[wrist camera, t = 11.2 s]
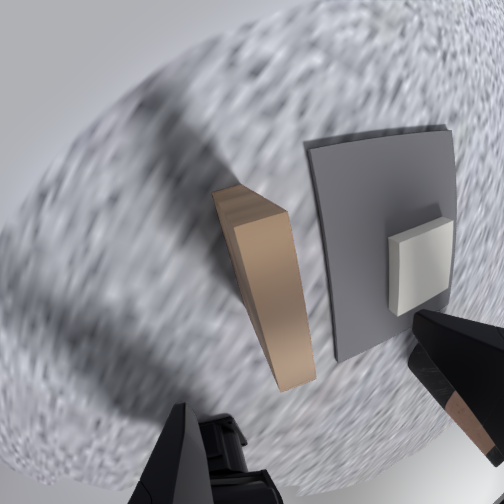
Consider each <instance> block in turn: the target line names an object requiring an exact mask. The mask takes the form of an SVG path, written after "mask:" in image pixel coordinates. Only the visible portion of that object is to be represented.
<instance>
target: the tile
mask: <svg viewBox="0 0 504 504" xmlns="http://www.w3.org/2000/svg"><path fill="white" fill-rule="evenodd" d="M388 242H389V308H388V309H389V310H390V311H391V312H392V313H394V314H395V315H396V316H397V317H398V316H400V315H402V314H404V313H406V312H407V311H409V310H411V309H413V308H415V307H416V306H418V305H420V304H422V303H424V302H425V301H427V300H429V299H430V298H432V297H434V296H436V295H437V294H439V293H441V292H442V291H444V290H446V289H447V288H448V285H449V277H450V268H451V257H452V243H453V220H451V219H448V218H445V217H440V218H438V219H435V220H432V221H430V222H427V223H425V224H422V225H420V226H417V227H415V228H412V229H409V230H407V231H404V232H401V233H399V234H396V235H394V236H391V237H388Z"/></svg>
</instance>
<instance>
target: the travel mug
mask: <svg viewBox="0 0 504 504" xmlns="http://www.w3.org/2000/svg"><path fill="white" fill-rule="evenodd" d="M408 364H409V368H410V370H411V371H412V372H413V374H414V375H415V376H416V377H417V378H418V379H419V381H420V382H421V383H422V384H423V385H424V386H425V388H426V389H427V390H428V391H429V392H430V393H431V395H432V396H433V397H434V398H435V399H436V401H437V402H438V403H439V404H440V405H441V407H442V408H443V409H444V410H445V411H446V412H447V414H448V415H449V416H450V417H451V418H452V419H453V420H454V421H455V422H456V423H457V425H458V426H459V427H460V428H461V429H462V430H463V431H464V432H465V433H466V435H467V436H468V437H469V438H470V439H471V440H472V441H473V442H474V444H475V445H476V446H477V447H478V448H479V449H480V450H481V452H482V453H483V454H484V455H486V457H487V458H488V459H489V461H490V462H491V463H492V464H493V465H494V466H495V467H498V466H499V465H500V464H501V463H502V462H503V461H504V457H503V456H502V454H501V453H500V451H499V450H498V448H497V447H496V445H495V444H494V442H493V441H492V439H491V438H490V437H489V435H488V434H487V432H486V431H485V429H484V428H483V427H482V425H481V424H480V422H479V421H478V420H477V418H476V417H475V415H474V414H473V413H472V411H471V410H470V409H469V407H468V406H467V405H466V403H465V402H464V401H463V399H462V398H461V397H460V396H459V394H458V393H457V392H456V390H455V389H454V388H453V387H452V385H451V384H450V383H449V382H448V380H447V379H446V378H445V377H444V375H443V374H442V373H441V372H440V370H439V369H438V368H437V367H436V365H435V364H434V363H433V362H432V360H431V359H430V358H429V356H428V355H427V353H426V352H425V350H424V349H423V347H422V346H421V344H420V343H418V344H417V346H416V347H415V349H414V350H413V352H412V354H411V356H410V359H409V363H408Z"/></svg>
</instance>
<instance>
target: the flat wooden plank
mask: <svg viewBox="0 0 504 504" xmlns="http://www.w3.org/2000/svg"><path fill="white" fill-rule="evenodd" d="M212 195H213V199H214V203H215V206H216V210H217V213H218V217H219V220H220V224H221V227H222V231H223V234H224V237H225V241H226V244H227V248H228V251H229V254H230V258H231V261H232V265H233V268H234V271H235V275H236V278H237V281H238V285H239V288H240V291H241V295H242V298H243V301H244V304H245V308H246V310H247V313H248V315H249V318H250V320H251V322H252V325H253V327H254V330H255V332H256V335H257V337H258V340H259V342H260V345H261V347H262V349H263V352H264V354H265V357H266V359H267V362H268V364H269V366H270V369H271V371H272V373H273V376H274V378H275V381H276V383H277V385H278V388H279V390H280V392H284V391H287V390H289V389H292V388H295V387H297V386H300V385H303V384H305V383H308V382H310V381H313V380H315V379H316V371H315V364H314V357H313V351H312V344H311V337H310V331H309V325H308V319H307V312H306V306H305V301H304V295H303V289H302V283H301V278H300V272H299V267H298V261H297V256H296V251H295V246H294V240H293V235H292V230H291V225H290V220H289V216H288V211H286V210H284V209H283V208H281V207H279V206H278V205H276V204H274V203H273V202H271V201H269V200H268V199H266V198H264V197H263V196H261V195H259V194H257V193H256V192H254V191H252V190H250V189H249V188H247V187H245V186H243V185H242V184H240V185H236V186H233V187H229V188H226V189H222V190H219V191H216V192H212Z"/></svg>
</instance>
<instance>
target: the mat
mask: <svg viewBox="0 0 504 504" xmlns="http://www.w3.org/2000/svg"><path fill="white" fill-rule="evenodd" d="M307 152H308V156H309V161H310V166H311V171H312V176H313V181H314V187H315V192H316V198H317V203H318V209H319V215H320V221H321V228H322V234H323V241H324V248H325V255H326V262H327V270H328V278H329V286H330V295H331V304H332V314H333V325H334V337H335V350H336V361H337V362H338V363H341V362H343V361H345V360H347V359H349V358H352V357H354V356H356V355H358V354H360V353H362V352H364V351H366V350H368V349H370V348H372V347H374V346H376V345H378V344H380V343H382V342H384V341H386V340H388V339H390V338H392V337H394V336H395V335H397V334H399V333H401V332H403V331H404V330H406V329H408V328H410V327H411V326H412V323H413V316H414V313H415V312H417V311H418V310H420V309H427V310H431V311H435V312H436V311H438V310H440V309H441V308H443V307H444V306H446V305H447V304H448V303H449V297H450V290H451V283H452V275H453V266H454V256H455V243H456V220H457V193H456V170H455V157H454V147H453V138H452V130H442V131H429V132H418V133H409V134H400V135H392V136H384V137H377V138H370V139H363V140H357V141H350V142H344V143H339V144H333V145H328V146H322V147H317V148H312V149H307ZM440 217H445V218H448V219H451V220H453V243H452V257H451V268H450V277H449V285H448V288H447V289H446V290H444V291H442V292H441V293H439V294H437V295H436V296H434V297H432V298H430V299H429V300H427V301H425V302H424V303H422V304H420V305H418V306H416V307H415V308H413V309H411V310H409V311H407V312H406V313H404V314H402V315H400V316H398V317H397V316H396V315H395V314H394V313H392V312H391V311H390V310H389V309H388V308H389V242H388V237H391V236H394V235H396V234H399V233H401V232H404V231H407V230H409V229H412V228H415V227H417V226H420V225H422V224H425V223H427V222H430V221H432V220H435V219H438V218H440Z"/></svg>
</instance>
